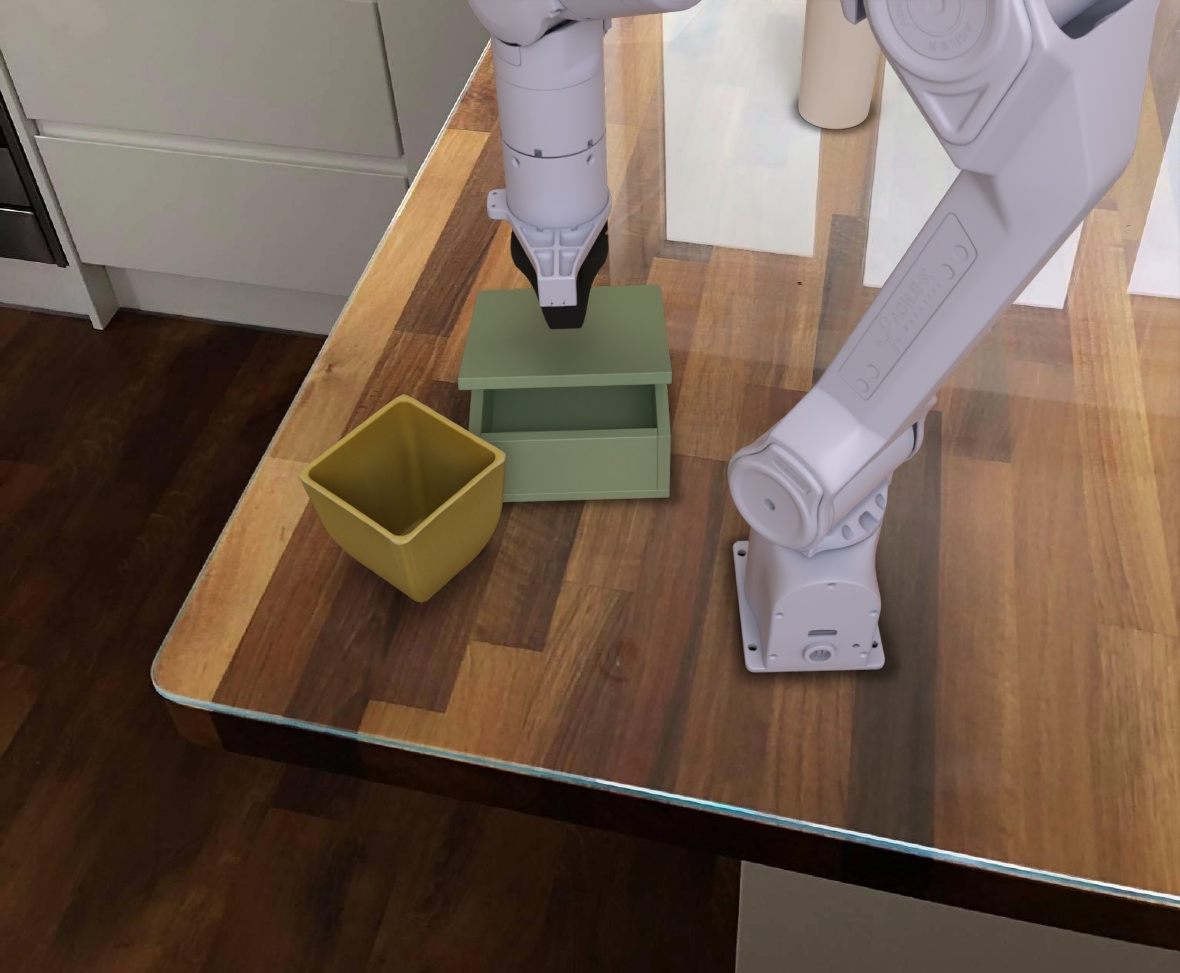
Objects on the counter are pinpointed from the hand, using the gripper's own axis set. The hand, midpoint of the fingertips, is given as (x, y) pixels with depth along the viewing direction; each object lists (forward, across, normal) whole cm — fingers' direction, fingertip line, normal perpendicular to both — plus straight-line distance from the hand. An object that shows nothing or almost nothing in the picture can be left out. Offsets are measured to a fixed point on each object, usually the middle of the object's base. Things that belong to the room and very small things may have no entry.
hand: (565, 321), depth 76 cm
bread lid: (+2, -1, 0) cm, 2 cm away
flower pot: (+10, +10, -9) cm, 18 cm away
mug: (+10, -41, +24) cm, 49 cm away
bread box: (+10, -1, 0) cm, 10 cm away
